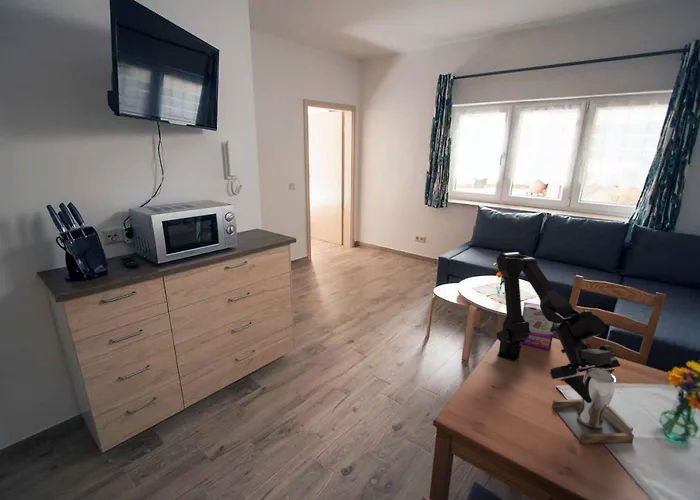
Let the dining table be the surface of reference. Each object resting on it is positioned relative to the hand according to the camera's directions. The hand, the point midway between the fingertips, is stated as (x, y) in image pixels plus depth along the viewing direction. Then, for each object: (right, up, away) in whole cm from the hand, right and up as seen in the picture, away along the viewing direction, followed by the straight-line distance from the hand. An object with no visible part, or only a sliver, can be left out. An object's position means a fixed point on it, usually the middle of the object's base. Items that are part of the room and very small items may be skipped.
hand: (599, 400), depth 92 cm
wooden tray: (0, -8, +4) cm, 9 cm away
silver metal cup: (0, -7, +4) cm, 8 cm away
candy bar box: (+5, +3, +42) cm, 43 cm away
